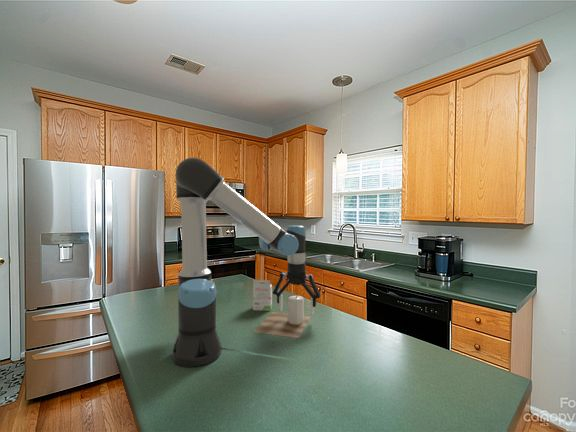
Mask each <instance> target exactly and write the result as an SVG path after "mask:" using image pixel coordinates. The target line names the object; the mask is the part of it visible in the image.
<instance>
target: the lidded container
mask: <svg viewBox="0 0 576 432" xmlns="http://www.w3.org/2000/svg"><path fill="white" fill-rule="evenodd" d="M287 314H288V322H289V323H291V324H301V323H303V322H304V316H305V297H303V296H301V295H298V294H297V295H291V296H289V297H288V299H287Z"/></svg>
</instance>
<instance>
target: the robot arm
mask: <svg viewBox="0 0 576 432" xmlns="http://www.w3.org/2000/svg"><path fill="white" fill-rule="evenodd" d="M175 186H176V187H175V189H176V192H175V193H176V194H175V195H176V200H177V201H179V203H180V208H181V210H180V211H181V213H180V215H181V216H180V217H181V256H182V257H181V258H182V259H181V261H182V263H181V264H182V269H181V270H180V271H179V272H178V274H177V278H178V280H177V281H178V282H177V284H178V286H177V287H178V288H177V289H178V290H177V300H178V301H177V303H178V307H177V308H178V312H177V313H178V316H177V317H178V320H177V321H178V322H177V323H178V324H177V325H178V331H177V333H178V334H177V336H176V340H175V342H174V345H173V349H172V362H173V363H174V364H175V365H177V366H181V367H183V368H184V367H187V368H193V367H200V366H205V365H208V364H211V363H213V362H214V361H216V360H217V359H218V358H219V357H221V354H222V343H221V340H220V337H219V335H218V332H217V288H216V287H217V286H216V283H215V282H214V281H213V280H212V271H211V269H210V268H209V267H208V251H207V247H208V246H207V203H208V202H209V201H211V202H212V203H213V204H215V205H216V206H217V207H218V208H220V209H221V210H222V211H224V212H225V213H226V214H228V215H229V216H231V218H233V219H234V220H236V221H237V222H239V223H240V224H241V225H243V226H244V227H245V228H246V229H248V230H249V231H250V232H251V233H253V234H254V235H256V236H257V237H258V244H259V247H260V249H261V250H262V251H275V252H277V253H280V254H281V255H282V256H287V273H285V272H280V275H279V279H278V281H277V283H276V286H275V287H274V289H273V290H272V295H276V303H277V304H278V307H279V309H278V313H282V311H283V309H284V296H283V292H284V291H285V290H286V289H287V288H288V287H289V286H290V285H295V286H302V287H303V288H304V290H305V291H306V292H307V293H308V294H309V296H310V297H311V298H310V316H314V314H315V310H314V309H315V308H316V306H317V299H320V298H321V296H322V295H321V293H320V291H319V288H318V286H317V284H316V282H315V280H314V275H313V274H312V273H311V274H306V240H307V239H306V238H307V237H306V227H305V226H303V225H288V226H287V228H286V229H287V230H284V228H282V227H281V226H280V225H279V224H277V223H276V222H275V221H274V220H272V219H271V218H269V217H268V216H267V215H266V214H265V213H264V212H262V211H261V210H260V209H258V208H257V206H255V205H254V204H252V203H251V202H249V200H247V199H246V198H245V197H244V196H242V195H241V194H240V193H238V192H237V191H236V190H235V189H233V187H231V186H229V185H228V184H227V183H226V182H225V178H224V177H223V176H222V175H221V174H220V173H218V172H217V170H215V168H213V167H212V165H210V164H208V163H207V162H206V161H205V160H203V159H201V158H198V157H188V158H185V159H184V160H182V161H181V162H179V164H178V165H177V167H176V169H175ZM285 278H286V279H288V280H287V282H286V283H285V284H284V285H283V286H282V287H281V285H282V283H283V281H284V279H285ZM306 279H307V281H309V283H310V285H308V283H307V281H306ZM279 289H280V290H279Z"/></svg>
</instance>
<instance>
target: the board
mask: <svg viewBox="0 0 576 432" xmlns="http://www.w3.org/2000/svg"><path fill="white" fill-rule="evenodd" d="M311 317H312V315H310V316H309V315H304V322H303V323H301V324H291V323H289V322H288V313H284V312H283V313H282V312H277V311H276V312H275V311H272V312H271V313H270V314H269V315H268V316H267V317H266V318H265V319H264V320H263V321H262V322H261V323H260V324H259V325H258V326H257V327H256V328H255V329H254V330H253V333H258V334H266V335H273V336H281V337H285V338H286V337H287V338H295V339H299V338H300V336H301V335H302V333H303V331H304V330H305V328H306V326H308V325H307V324H308V323H309V321H310V319H311Z"/></svg>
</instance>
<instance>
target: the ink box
mask: <svg viewBox="0 0 576 432" xmlns="http://www.w3.org/2000/svg"><path fill="white" fill-rule="evenodd" d="M252 282H253V286H252V310H253V311H265V312H266V311H267V312H269V311H270V312H271V311H272V309H273V284H271V280H270V279H269V280H268V279H253V281H252Z"/></svg>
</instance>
